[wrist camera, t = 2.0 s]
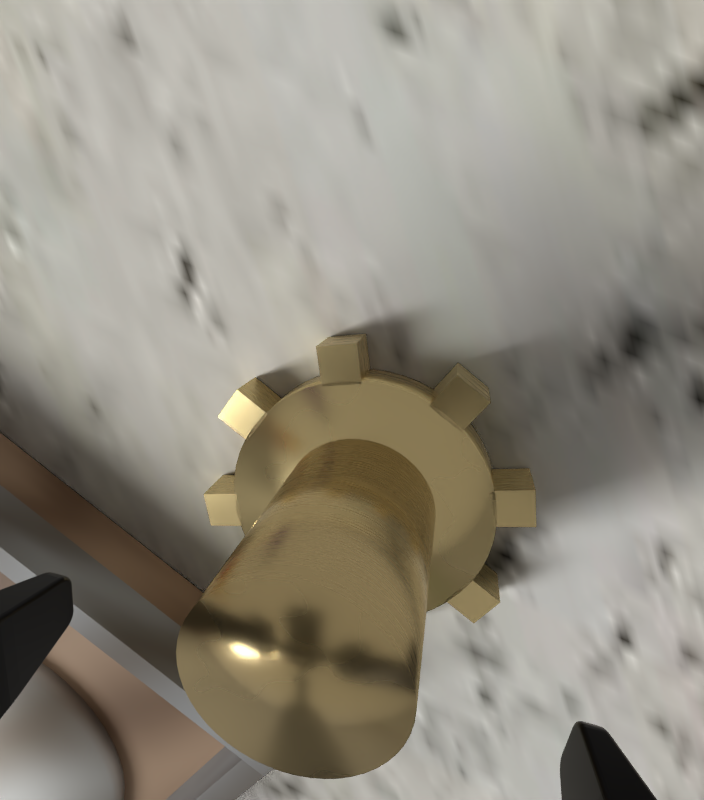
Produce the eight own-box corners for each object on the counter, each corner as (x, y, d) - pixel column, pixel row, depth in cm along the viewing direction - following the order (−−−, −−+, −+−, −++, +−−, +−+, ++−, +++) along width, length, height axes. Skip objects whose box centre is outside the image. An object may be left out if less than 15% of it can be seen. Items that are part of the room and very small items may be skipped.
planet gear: (605, 484, 13) (741, 724, 6) (389, 662, 16) (341, 935, 10) (337, 263, 12) (210, 290, 6) (173, 490, 16) (-19, 659, 9)
